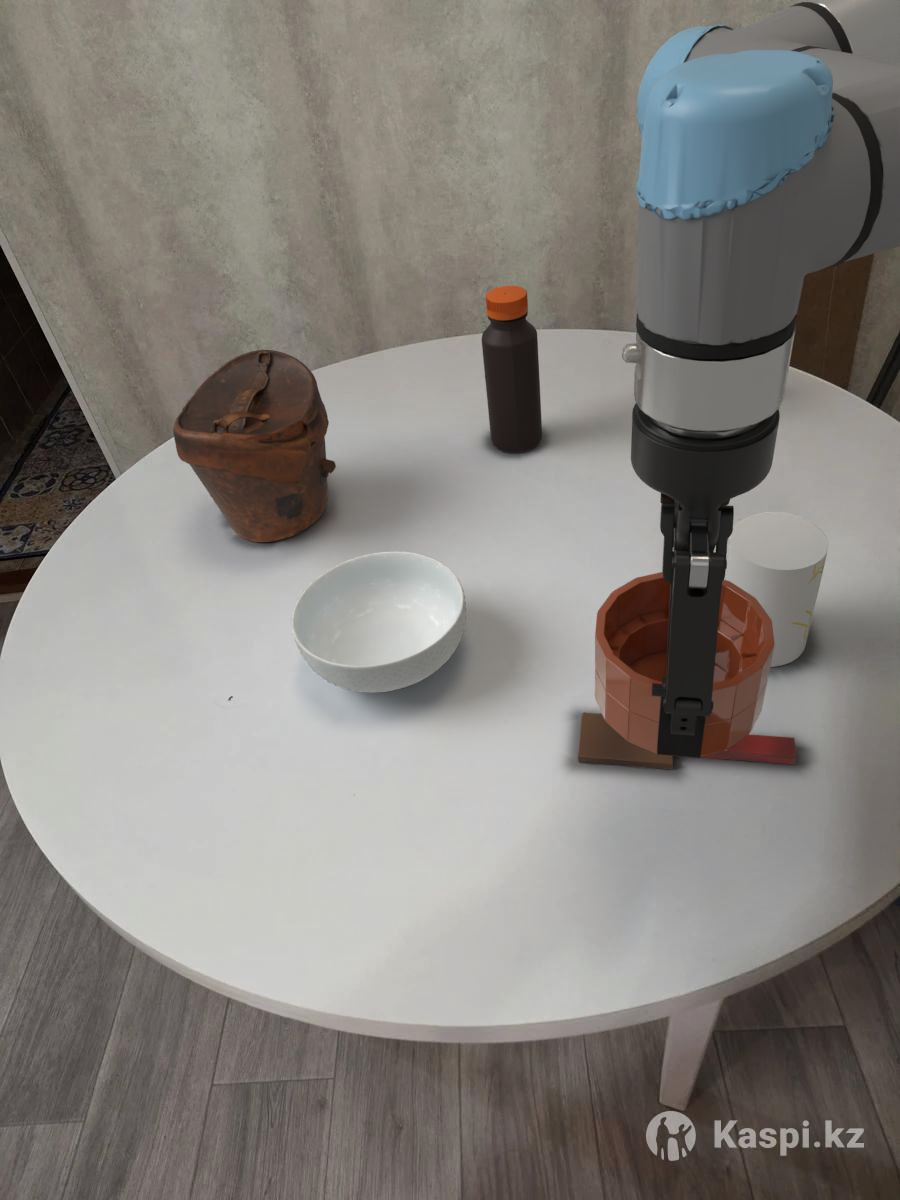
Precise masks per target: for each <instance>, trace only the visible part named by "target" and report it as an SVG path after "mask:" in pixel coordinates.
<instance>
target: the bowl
mask: <svg viewBox="0 0 900 1200" xmlns="http://www.w3.org/2000/svg"><path fill="white" fill-rule="evenodd" d="M669 602H670V583H669V582H668V581H667V580H665V579H664V577H663V572H662V571H660V572H655V573H651V574H647V575H642V576H637V577H635V578H633V579H632V580H630V581H628V582H625V584H623V585H621V586H619V587H618V588H616V589H615V590H612V592H610V593H609V595H608V597H607V598H606V599H605V601H604V602H603V603H602V605H601V606H600V608H599V609H598V610H597V611H596V619H595V631H594V698H595V702H596V703H597V705H598V708H599V710H600V714H602V715H603V717H604V719H605V721H606V722H607V723H608V724H609V725H610V726H611V727H612V728H613V729H614V730H615V731H617V732H618V733H619V734H620V735H621V736H622V737H623V738H624V739H625V740H627V741H628V742H629V743H632V744H634V745H637V746H639V747H642V748H644V749H647V750H649V751H651V752H654V753H656V754H657V740H658V727H659V715H660V702H661V697H660V696H652V683H655V684H662V678H666V659H667V640H668V621H669ZM774 645H775V643H774V634H773V625H772V620H771V618H770V617H769V616H768V614H767V613H766V611H765V610H764V609H763V607H762V606H761V604H760V603H759V602H758V600H757V599H756V598H755V597H753V596H752V595H750V594H749V593H747V592H746V591H744V590H743V589H741V588H739V587H738V586H736V585H735V584H733V583H732V582H730V581H727V580H725V579H724V580H723V581H722V589H721V597H720V609H719V620H718V632H717V644H716V656H715V667H714V679H713V691H712V702H713V710H712V713H711V715H710V717H709V716H706V719H705V727H704V734H703V742H702V749H701V756H703V755H707V754H711V753H716V752H720V751H724V750H727V749H728V748H730V747H731V746H733V745H734V744H735V743H737V742H738V741H740V740H741V739H742V738H744V737H745V736H747V735H748V734H749V735H750V734H751V732H752V731H753V729H754V727H755V724H756V723H757V721H758V719H759V716H760V714H761V712H762V709H763V706H764V700H765V695H766V691H767V686H768V680H769V675H770V670H771V667H770V665H771V660H772V655H773V650H774ZM668 756H670V755H668ZM679 757H680V758H681V757H682V756H679ZM691 758H693V759H694V758H695V757H691Z"/></svg>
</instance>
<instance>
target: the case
mask: <svg viewBox="0 0 900 1200" xmlns="http://www.w3.org/2000/svg"><path fill="white" fill-rule="evenodd" d="M321 396H322V395H321V393H320V391H319V387H318V382H317V379H316V377H315V375H314V373H313V372H312V371H311V369H310V368H309V367H308V366H307V365H306V364H305V363H304V362H302V361H301V360H299V359H298V358H296V357H294V356H293V355H290V354H288V353H286V352H282V351H277V350H272V349H258V350H252V351H248V352H245V353H242V354H240V355H238V356H235V357H234V358H232V359H230V360H228V361H226V362H225V363H224V364H222V365H221V366H220V367H218V369H217V370H215V371H214V372H213V373H211V375H209V376H208V377H207V378H206V379H205V380H204V381H203V382H202V383H201V384H200V385H199V386H198V387H197V388H196V390H195V392H194V394H193V395H192V396H191V397H190V399H188V400H187V402H186V403H185V405H184V406H183V407H182V410H181V412H180V413H179V414H178V416H177V417H176V418H175V421H174V424H173V428H172V429H173V430H172V432H173V438H174V444H175V449H176V453H177V456H178V458H179V460H181V461H182V462H183V463H186V464H188V465H189V466H190V467H191V469H192V470H193V472H194V473H195V475H196V476H197V478H198V479H199V481H200V482H201V484H202V485H203V486H204V488H205V489H206V491H207V492H208V494H209V496H210V497H211V499H212V500H213V502H214V503H215V505H216V506H217V508H218V509H219V510H220V512H221V513H222V515H223V516H224V518H225V520H226V521H227V522H228V524H229V526H230V527H231V529H232V530H233V531H234V532H235V533H236V534H237V535H238V536H239V537H241V538H242V539H245V540H247V541H250V542H253V543H254V542H255V543H272V542H276V541H280V540H284V539H288V538H291V537H293V536H296V535H298V534H300V533H302V532H304V531H305V530H307V529H308V528H309V527H311V526H312V525H313V524H315V523H316V522H317V521H318V520H319V518H321V516H322V515H323V513H324V511H325V509H326V507H327V505H328V501H329V495H328V492H329V489H328V477H329V474H332V473H333V472H335V469H336V468H337V464H336V462H335V460H332V459H327V451H326V449H327V448H326V435H327V432H328V428H329V425H330V424H329V423H330V422H329V419H328V413H327V409H326V406H325V404H324V402H323V400H322V397H321Z"/></svg>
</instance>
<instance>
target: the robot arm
mask: <svg viewBox="0 0 900 1200" xmlns="http://www.w3.org/2000/svg"><path fill="white" fill-rule="evenodd" d="M636 113H637V121H636V122H637V124H638V130H639V134H640V136H641V146H640V157H639V158H640V159H639V172H638V175H637V181H636V199H637V202H638V212H637V213H638V216H637V217H638V219H637V220H638V221H637V259H636V260H637V263H636V265H637V266H636V267H637V268H636V304H635V307H636V308H635V311H636V320H635V328H636V333H635V341H636V343H626V344H625V345H624V347H623V348H622V353H621V357H622V360H623V361H624V362H625V363H626V364H635V368H634V378H633V379H634V381H633V383H634V385H633V397H634V401H635V404H634V405H633V407H632V412H631V438H630V440H631V442H630V462H631V466H632V469H633V471H634V473H635V474H636V476H637V477H638V478H639V479H640V480H641V482H642V483H644V484H645V485H646V486H648V487H649V488H651V489H652V490H654V491H656V492H658V493H659V494H660V518H659V519H660V520H659V528H660V533H661V534H662V536H663V545H662V546H663V550H662V566H661V567H662V569H661V572H663V577H664V579H665V580H667V581H668V582H669V583H670V602H669V621H668V640H667V659H666V678H662V684H655V683H652V696H660V697H661V702H660V715H659V727H658V740H657V754H658V755H670V756H673V757H680V756H682V757H683V758H692V757H694V758H695V759H701V758H702V757H701V749H702V742H703V734H704V727H705V719H706V716H709V717H710V715H711V713H712V710H713V702H712V691H713V679H714V667H715V656H716V644H717V632H718V620H719V609H720V597H721V589H722V581H723V580H725V574H726V568H727V556H728V540H729V539H730V537H731V534H732V531H733V528H734V517H735V516H734V515H735V507H734V505H730V501H731V499H733V498H736V497H738V496H741V495H743V494H746V493H747V492H750V491H752V490H753V489H755V488H756V487H758V486H759V485H760V484H761V483H762V482H763V481H764V480H766V478H767V477H768V476H769V473H770V471H771V469H772V466H773V461H774V454H775V450H776V449H775V448H776V442H777V438H778V437H777V436H778V430H779V424H780V417H781V416H780V415H781V413H780V410H779V409H780V408H781V406H782V405H783V403H784V399H785V393H786V387H787V383H788V375H789V369H790V364H791V357H792V353H793V347H794V346H793V345H794V340H795V336H796V329H797V328H796V322H797V316H798V310H799V305H800V300H801V296H802V291H803V285H804V281H805V277H806V276H807V275H808V274H812V273H815V272H818V271H822V270H825V269H828V268H832V267H837V266H839V265H841V264H843V263H846V262H849V261H853V260H856V259H859V258H863V257H866V256H870V255H871V256H872V255H874V254H877V253H881V252H884V251H888V250H891V249H892V250H893V249H895V248H899V247H900V0H802V1H799V2H796V3H795V4H793V5H790V6H788V7H786V8H783V9H781V10H779V11H777V12H775V13H773V14H770V15H769V16H766V17H764V18H762V19H760V20H758V21H756V22H754V23H751V24H750V25H747V26H745V27H741V28H737V29H734V28H732V27H730V26H728V25H725V24H717V25H716V24H712V25H710V26H693V27H689V28H685V29H683V30H681V31H679V32H677V33H675V34H674V35H672V36H671V37H670V38H669V39H667V40H666V41H665V43H663V44H662V45H661V46H660V48H659V49H658V50H657V51H656V52H655V53H654V54H653V57H652V58H651V60H650V62H649V63H648V65H647V67H646V69H645V71H644V74H643V76H642V79H641V82H640V85H639V90H638V93H637V101H636Z"/></svg>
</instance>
